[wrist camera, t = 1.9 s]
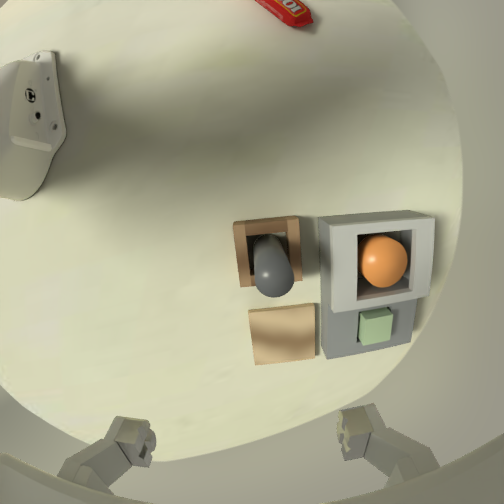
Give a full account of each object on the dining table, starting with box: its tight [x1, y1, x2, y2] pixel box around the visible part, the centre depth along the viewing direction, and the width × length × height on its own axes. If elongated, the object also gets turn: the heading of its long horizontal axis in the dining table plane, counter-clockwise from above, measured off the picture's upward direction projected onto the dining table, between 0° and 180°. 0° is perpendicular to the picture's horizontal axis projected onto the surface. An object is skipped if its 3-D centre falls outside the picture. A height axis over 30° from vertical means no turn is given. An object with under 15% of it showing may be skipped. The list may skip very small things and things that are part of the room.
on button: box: [357, 307, 393, 346], centre depth 32 cm, size 4×4×3 cm
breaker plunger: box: [357, 233, 407, 288], centre depth 29 cm, size 5×5×3 cm
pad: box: [248, 303, 315, 365], centre depth 36 cm, size 8×8×1 cm
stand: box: [233, 216, 302, 287], centre depth 32 cm, size 7×7×2 cm
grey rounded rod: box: [253, 234, 294, 297], centre depth 28 cm, size 3×3×10 cm
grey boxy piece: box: [318, 210, 435, 359], centre depth 31 cm, size 17×12×6 cm
